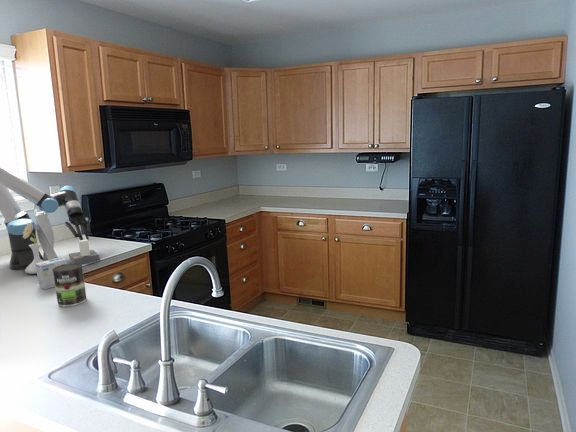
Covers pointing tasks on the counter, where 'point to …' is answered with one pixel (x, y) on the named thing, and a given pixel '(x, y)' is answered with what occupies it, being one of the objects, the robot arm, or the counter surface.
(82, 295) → the coffee can
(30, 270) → the flower in vase
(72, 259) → the switch box
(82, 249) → the white cylinder
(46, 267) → the light bulb box
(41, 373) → the counter surface
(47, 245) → the skyscraper
